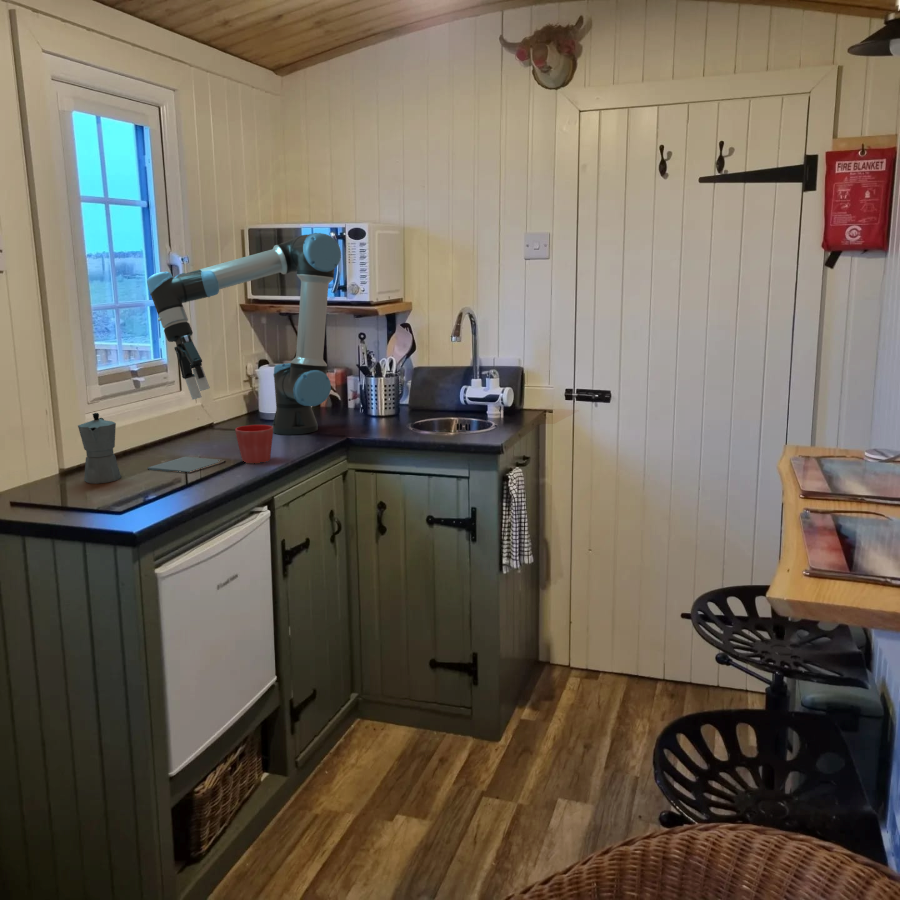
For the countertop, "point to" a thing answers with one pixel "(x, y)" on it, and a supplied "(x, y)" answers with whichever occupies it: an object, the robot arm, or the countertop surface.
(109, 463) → the coffeepot
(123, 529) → the countertop surface
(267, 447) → the flower pot
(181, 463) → the slate coaster
